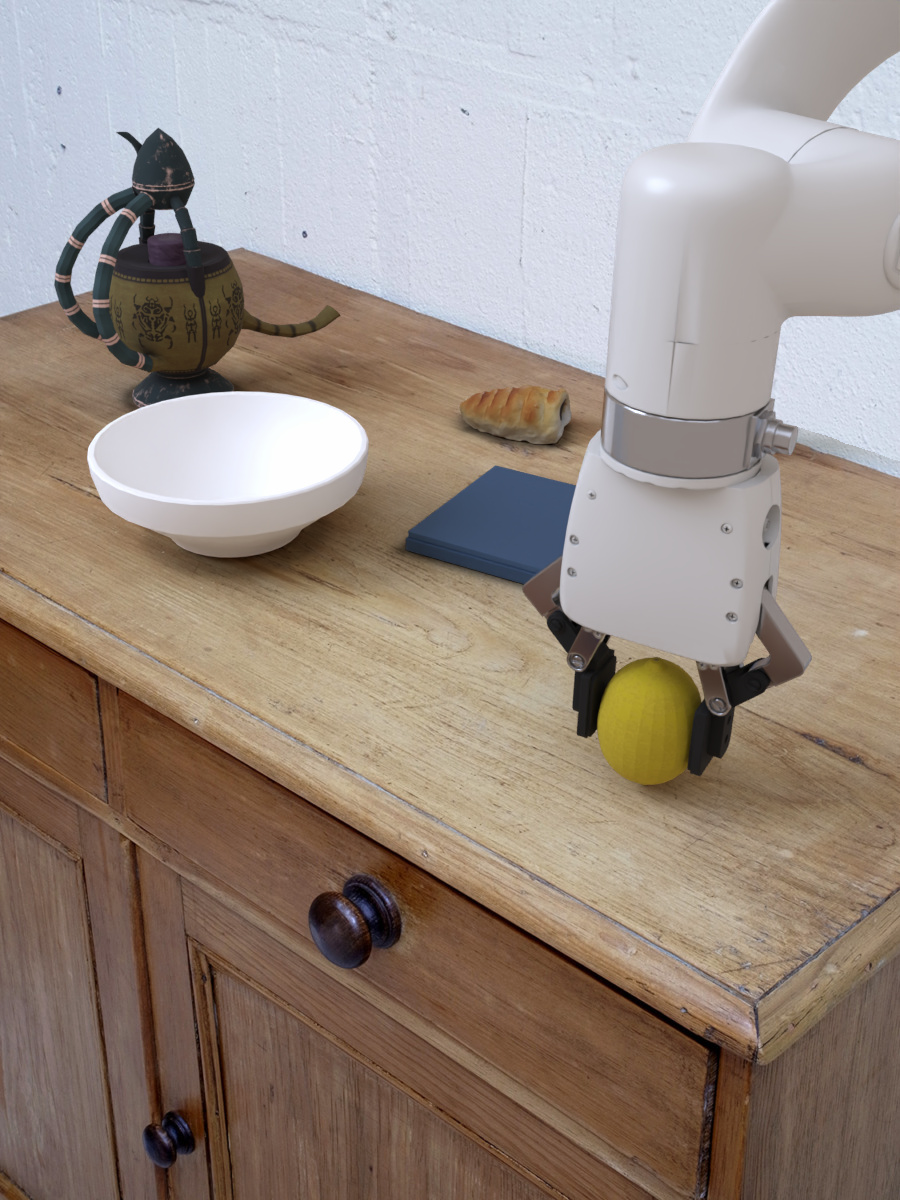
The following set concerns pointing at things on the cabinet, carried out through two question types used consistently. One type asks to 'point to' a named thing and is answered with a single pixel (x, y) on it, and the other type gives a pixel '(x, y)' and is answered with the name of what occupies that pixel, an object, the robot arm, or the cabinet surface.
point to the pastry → (519, 413)
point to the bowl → (229, 468)
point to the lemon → (648, 720)
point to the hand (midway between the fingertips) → (648, 739)
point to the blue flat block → (499, 525)
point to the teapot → (163, 284)
